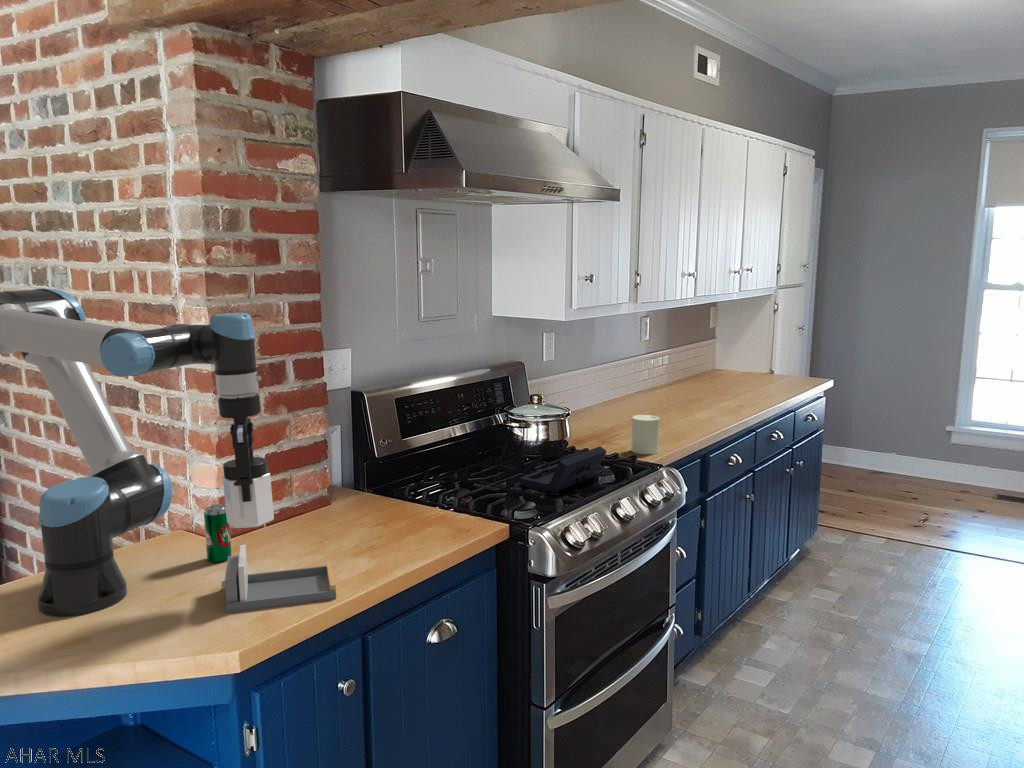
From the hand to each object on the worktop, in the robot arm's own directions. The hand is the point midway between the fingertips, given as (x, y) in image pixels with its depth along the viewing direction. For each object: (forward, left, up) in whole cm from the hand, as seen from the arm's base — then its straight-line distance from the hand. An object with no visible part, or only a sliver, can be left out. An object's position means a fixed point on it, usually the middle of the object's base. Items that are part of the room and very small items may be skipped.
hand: (249, 510), depth 154 cm
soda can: (-8, +21, -17) cm, 28 cm away
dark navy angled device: (+85, +53, -18) cm, 101 cm away
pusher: (-2, -2, -17) cm, 17 cm away
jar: (0, -1, -2) cm, 2 cm away
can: (+123, +79, -17) cm, 147 cm away
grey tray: (+5, -2, -17) cm, 18 cm away
